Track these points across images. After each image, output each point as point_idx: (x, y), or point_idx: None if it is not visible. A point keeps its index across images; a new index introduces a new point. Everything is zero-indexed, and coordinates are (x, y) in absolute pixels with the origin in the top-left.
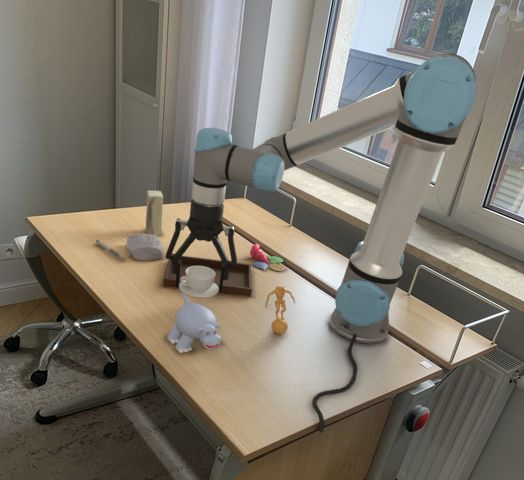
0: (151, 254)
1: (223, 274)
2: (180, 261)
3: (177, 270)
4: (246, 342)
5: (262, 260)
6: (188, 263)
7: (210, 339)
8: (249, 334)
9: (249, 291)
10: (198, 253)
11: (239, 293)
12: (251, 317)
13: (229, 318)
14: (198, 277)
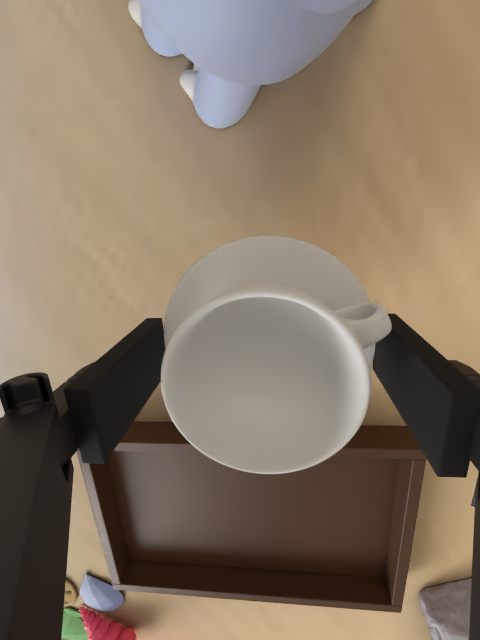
0: (469, 605)
1: (91, 367)
2: (447, 438)
3: (441, 361)
4: (27, 66)
5: (99, 617)
6: (325, 575)
7: None
8: (32, 143)
9: None
10: (297, 631)
11: None
12: (56, 282)
13: (132, 252)
14: (276, 411)
